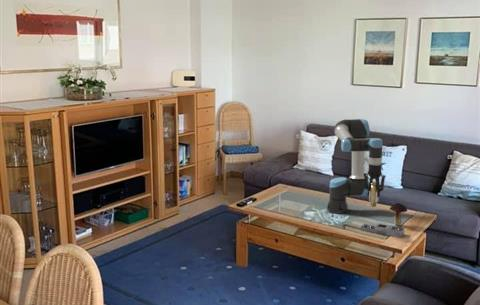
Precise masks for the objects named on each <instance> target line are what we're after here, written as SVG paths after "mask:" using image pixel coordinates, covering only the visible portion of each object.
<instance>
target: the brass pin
mask: <svg viewBox="0 0 480 305" xmlns="http://www.w3.org/2000/svg"><path fill="white" fill-rule="evenodd" d="M376 192H377V186H376V181H373V182H372V183H371V201H370V207H371V208H374V207H375V208H376V207H377V202H375V200H376Z"/></svg>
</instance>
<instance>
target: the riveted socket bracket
mask: <svg viewBox="0 0 480 305" xmlns="http://www.w3.org/2000/svg"><path fill="white" fill-rule="evenodd" d="M360 231H363V232H368V233H373V234H377V235H378V234H379V235H383V236H391V237H393V238H399V237H400V238H402V237H403V236H404V235H405V227H401V226H397V225H395V226H394V225H389V224H383V223H377V224H376V225H374V224H367V223H363V224H362V225H361V226H360Z"/></svg>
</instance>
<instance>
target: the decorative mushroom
mask: <svg viewBox="0 0 480 305" xmlns="http://www.w3.org/2000/svg"><path fill="white" fill-rule="evenodd" d="M389 210H390V211H393V212H395V214H394V221H393V223H394V225H395V226H396V227H400V226H401V224H402V214H401V213H405V212H408V208H407V206H406V205H404V204H402V203H400V202H397V203H394V204H393V205H391V206H390V207H389Z"/></svg>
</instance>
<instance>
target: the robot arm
mask: <svg viewBox="0 0 480 305" xmlns="http://www.w3.org/2000/svg"><path fill="white" fill-rule="evenodd" d="M370 129H371V128H370V125H369V122H368V120H367V119H364V118H363V119H362V118H358V119H357V118H355V119H354V118H353V119H343V120H340V121H338V122H337V123H336V124H335V125H334V128H333V132H334V135H335V136H336V137H337V138H339V141H341V142H340V144H341V145H340V148H341V152H345V153H351V175H350V176H349V179H348V178H347V177H335V178H332V179H331V180H330V181H329V200H328V202H327V205H326V211H327V212H328V211H329V213H332V214H337V215H338V214H339V215H340V214H347V213H348V212H349V206H348V203H347V197H366V196H368V201H369V202H371V183H372V182H376V186H377V192H376V200H375V202H376V203H378V202H379V198H380V196H381V192H383V191H384V187H385V179H386V177H387V176H386V175H384V174H383V173H382V163H383V162H382V161H383V160H382V159H383V144H384V143H383V139H382V138H379V137H377V138H375V137H372V138H371V137H369V136H370V132H371V131H370ZM365 152H368V154H369V155H368V171H367V172H365ZM380 178H381V179H380ZM374 180H375V181H374Z"/></svg>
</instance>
